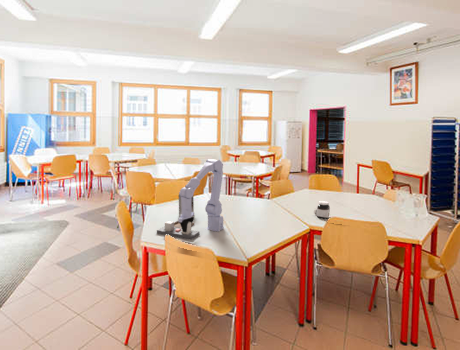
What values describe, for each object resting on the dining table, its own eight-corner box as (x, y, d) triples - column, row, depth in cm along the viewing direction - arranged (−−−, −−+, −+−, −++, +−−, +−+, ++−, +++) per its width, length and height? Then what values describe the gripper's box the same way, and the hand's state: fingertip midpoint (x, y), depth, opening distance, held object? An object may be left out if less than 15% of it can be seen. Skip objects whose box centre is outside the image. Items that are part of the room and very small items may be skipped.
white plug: (191, 233, 176) (191, 221, 175) (187, 235, 173) (187, 223, 171) (185, 232, 178) (185, 220, 177) (181, 234, 174) (181, 222, 173)
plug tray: (194, 225, 195) (194, 222, 195) (184, 231, 184) (184, 228, 184) (178, 222, 200) (178, 220, 199) (168, 228, 189) (168, 225, 189)
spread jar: (325, 220, 210) (326, 204, 208) (310, 217, 217) (311, 201, 215) (331, 216, 219) (332, 201, 217) (316, 213, 226) (317, 198, 224)
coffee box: (187, 213, 221) (187, 192, 219) (194, 215, 217) (193, 193, 215) (178, 216, 214) (178, 194, 212) (184, 218, 210) (184, 195, 208)
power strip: (199, 235, 177) (199, 230, 177) (191, 240, 169) (191, 235, 168) (165, 229, 187) (165, 224, 186) (156, 234, 178) (156, 228, 178)
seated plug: (174, 232, 181) (174, 221, 180) (170, 235, 178) (170, 223, 176) (168, 231, 183) (168, 220, 182) (164, 233, 179) (164, 222, 178)
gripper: (187, 204, 181) (187, 225, 183) (173, 210, 168) (173, 233, 170) (197, 205, 178) (197, 227, 180) (184, 212, 165) (184, 235, 167)
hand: (186, 230), depth 175 cm, fingers closed on white plug, 4 cm apart
